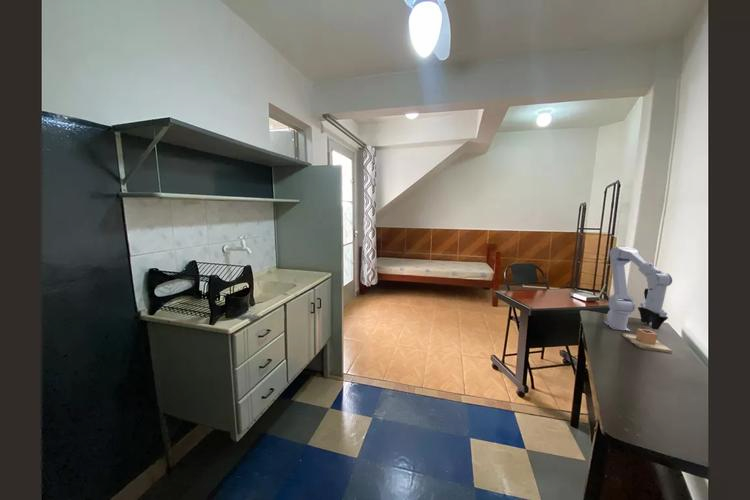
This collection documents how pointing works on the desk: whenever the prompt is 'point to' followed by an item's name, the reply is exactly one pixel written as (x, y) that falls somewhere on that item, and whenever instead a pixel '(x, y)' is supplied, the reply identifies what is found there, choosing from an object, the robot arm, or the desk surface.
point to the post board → (655, 347)
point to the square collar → (646, 336)
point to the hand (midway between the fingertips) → (649, 325)
